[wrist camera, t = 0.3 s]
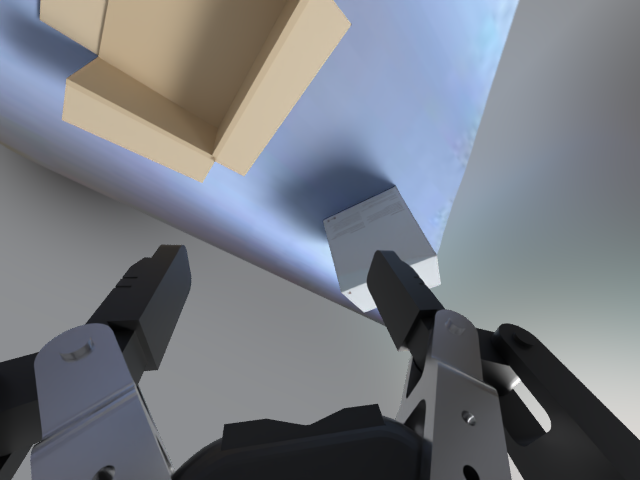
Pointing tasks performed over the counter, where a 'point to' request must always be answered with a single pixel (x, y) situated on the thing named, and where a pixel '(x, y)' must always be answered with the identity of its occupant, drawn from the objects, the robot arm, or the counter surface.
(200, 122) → the carton
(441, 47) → the counter surface
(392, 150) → the counter surface
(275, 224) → the counter surface
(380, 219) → the supplement box
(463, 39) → the counter surface
